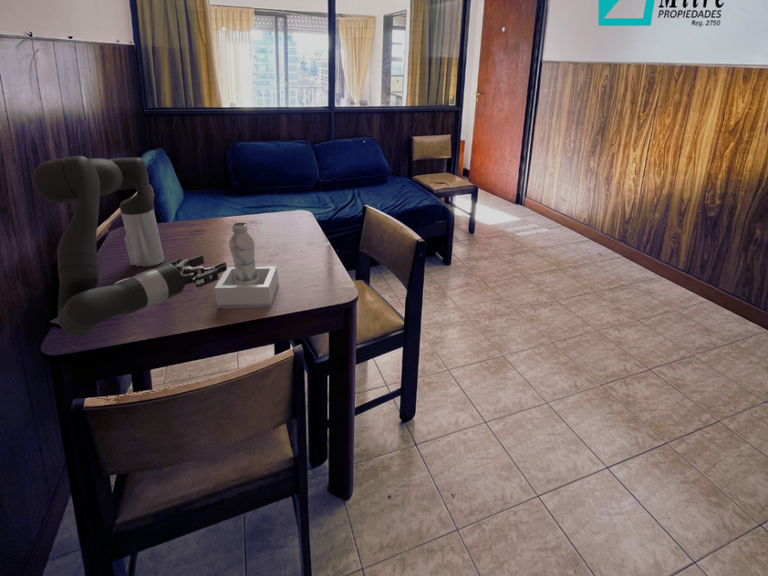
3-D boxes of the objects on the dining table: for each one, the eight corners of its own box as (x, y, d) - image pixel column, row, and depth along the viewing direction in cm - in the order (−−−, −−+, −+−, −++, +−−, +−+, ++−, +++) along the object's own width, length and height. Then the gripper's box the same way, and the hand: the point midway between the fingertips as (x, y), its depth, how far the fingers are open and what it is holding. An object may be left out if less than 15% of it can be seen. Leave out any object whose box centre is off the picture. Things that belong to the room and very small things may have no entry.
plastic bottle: (255, 299, 130) (245, 229, 122) (232, 297, 132) (221, 227, 123) (265, 289, 136) (257, 221, 128) (242, 287, 137) (233, 219, 129)
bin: (217, 308, 128) (214, 288, 125) (230, 286, 141) (227, 267, 138) (270, 307, 129) (268, 287, 126) (278, 285, 141) (276, 266, 139)
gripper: (173, 276, 104) (231, 253, 116) (133, 263, 111) (192, 243, 123) (179, 307, 107) (235, 282, 119) (140, 292, 114) (197, 270, 126)
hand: (213, 262), depth 121 cm, fingers open, 8 cm apart
